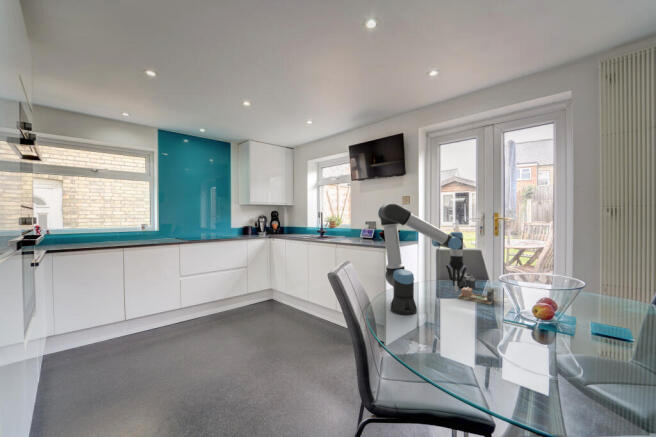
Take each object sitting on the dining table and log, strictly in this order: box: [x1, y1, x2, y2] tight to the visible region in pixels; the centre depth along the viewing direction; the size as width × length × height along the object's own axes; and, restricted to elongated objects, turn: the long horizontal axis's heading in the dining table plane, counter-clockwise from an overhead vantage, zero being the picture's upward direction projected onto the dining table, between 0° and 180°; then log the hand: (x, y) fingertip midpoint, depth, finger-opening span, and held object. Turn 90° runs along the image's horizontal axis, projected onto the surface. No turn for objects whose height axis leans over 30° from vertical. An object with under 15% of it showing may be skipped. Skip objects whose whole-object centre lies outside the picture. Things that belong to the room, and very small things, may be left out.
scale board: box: [457, 287, 495, 305], centre depth 166 cm, size 18×11×7 cm, turn 50°
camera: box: [456, 272, 476, 290], centre depth 194 cm, size 16×10×10 cm, turn 24°
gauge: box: [460, 287, 473, 297], centre depth 169 cm, size 5×7×5 cm
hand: (456, 291), depth 173 cm, fingers closed
